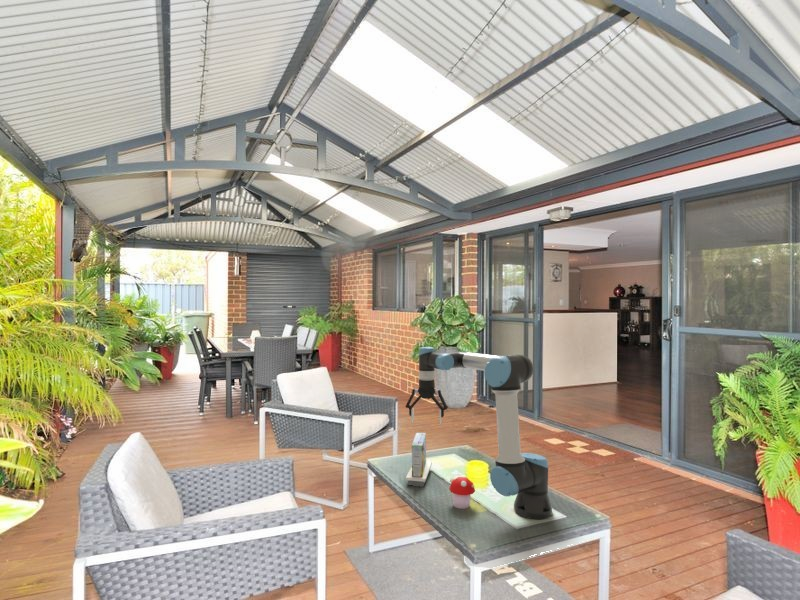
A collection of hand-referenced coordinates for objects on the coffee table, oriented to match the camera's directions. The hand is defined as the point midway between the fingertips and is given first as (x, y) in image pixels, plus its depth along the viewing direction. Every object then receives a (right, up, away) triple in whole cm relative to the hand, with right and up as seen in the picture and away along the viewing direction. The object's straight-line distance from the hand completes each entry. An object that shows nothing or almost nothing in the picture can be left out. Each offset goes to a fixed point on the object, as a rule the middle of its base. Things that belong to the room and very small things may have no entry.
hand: (426, 423), depth 234 cm
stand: (-3, -27, +1) cm, 27 cm away
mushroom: (+13, -28, -29) cm, 42 cm away
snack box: (-4, -23, +1) cm, 23 cm away
